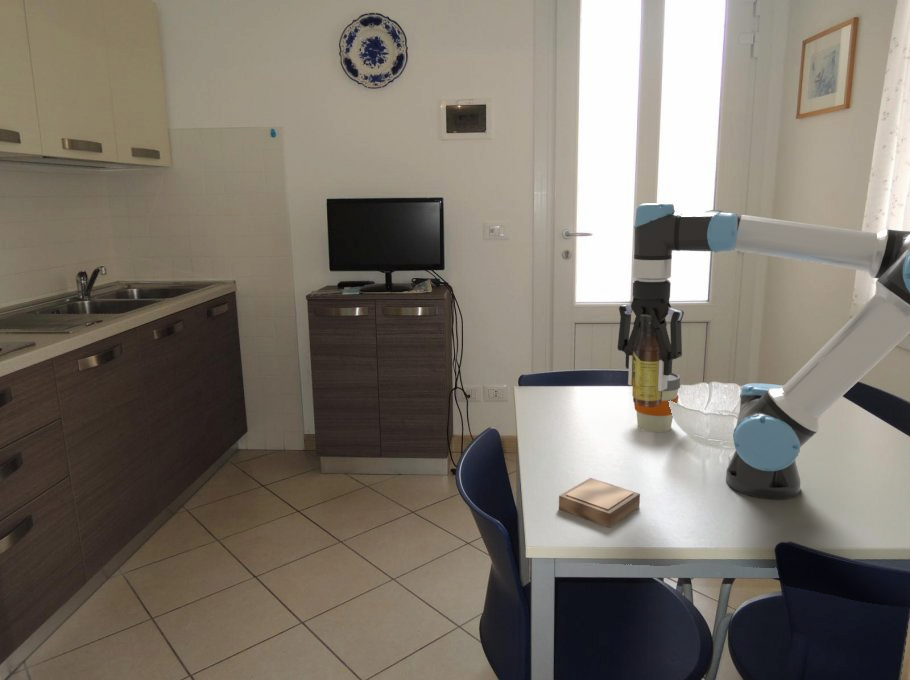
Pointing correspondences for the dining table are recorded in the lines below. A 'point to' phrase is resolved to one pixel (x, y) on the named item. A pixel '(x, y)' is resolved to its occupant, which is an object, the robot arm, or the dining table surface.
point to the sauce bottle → (646, 365)
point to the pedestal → (599, 502)
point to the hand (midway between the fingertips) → (647, 386)
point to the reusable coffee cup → (659, 409)
